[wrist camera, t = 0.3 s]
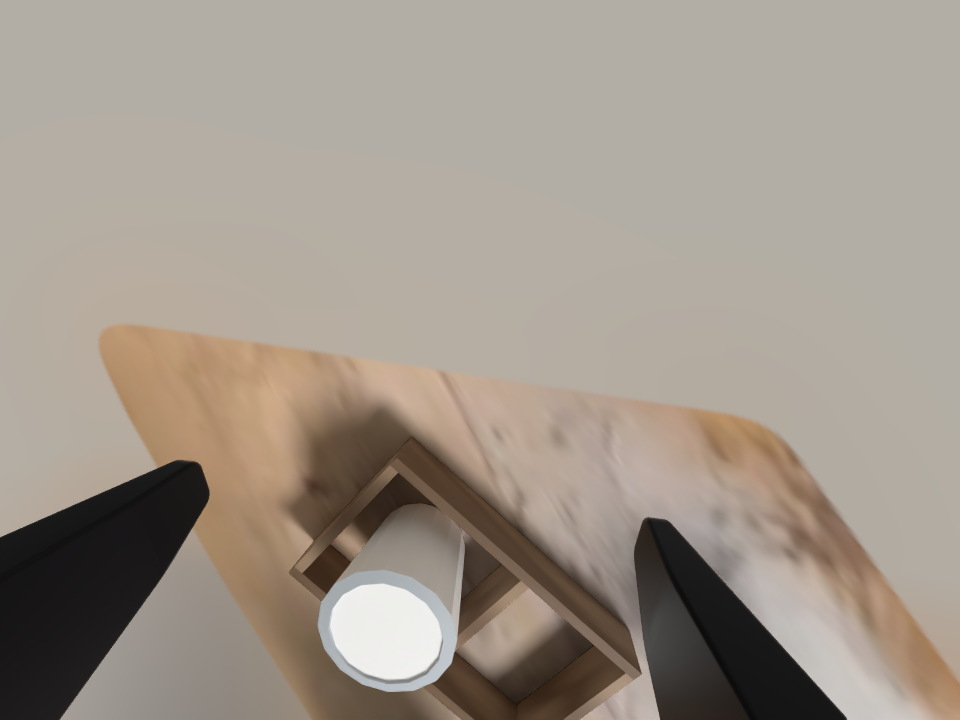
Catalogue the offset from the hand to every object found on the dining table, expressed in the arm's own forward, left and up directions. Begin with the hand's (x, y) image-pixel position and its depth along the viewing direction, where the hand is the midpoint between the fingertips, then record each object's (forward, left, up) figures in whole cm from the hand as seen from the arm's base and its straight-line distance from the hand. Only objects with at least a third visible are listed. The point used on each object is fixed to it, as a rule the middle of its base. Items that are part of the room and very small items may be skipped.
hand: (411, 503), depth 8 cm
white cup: (-12, -5, -16) cm, 21 cm away
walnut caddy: (-12, -9, -16) cm, 22 cm away
